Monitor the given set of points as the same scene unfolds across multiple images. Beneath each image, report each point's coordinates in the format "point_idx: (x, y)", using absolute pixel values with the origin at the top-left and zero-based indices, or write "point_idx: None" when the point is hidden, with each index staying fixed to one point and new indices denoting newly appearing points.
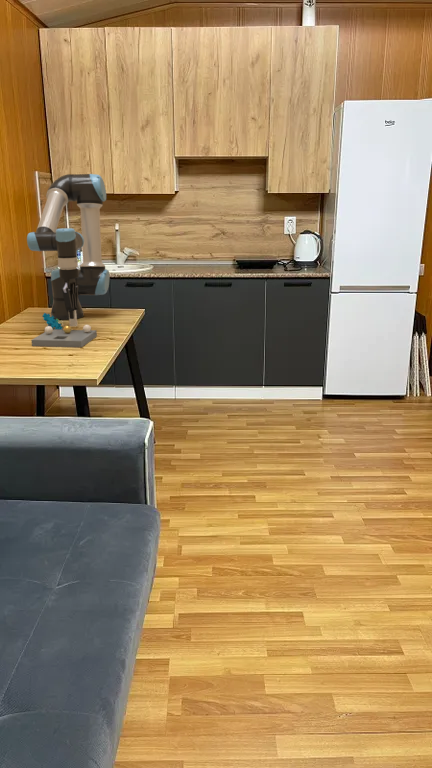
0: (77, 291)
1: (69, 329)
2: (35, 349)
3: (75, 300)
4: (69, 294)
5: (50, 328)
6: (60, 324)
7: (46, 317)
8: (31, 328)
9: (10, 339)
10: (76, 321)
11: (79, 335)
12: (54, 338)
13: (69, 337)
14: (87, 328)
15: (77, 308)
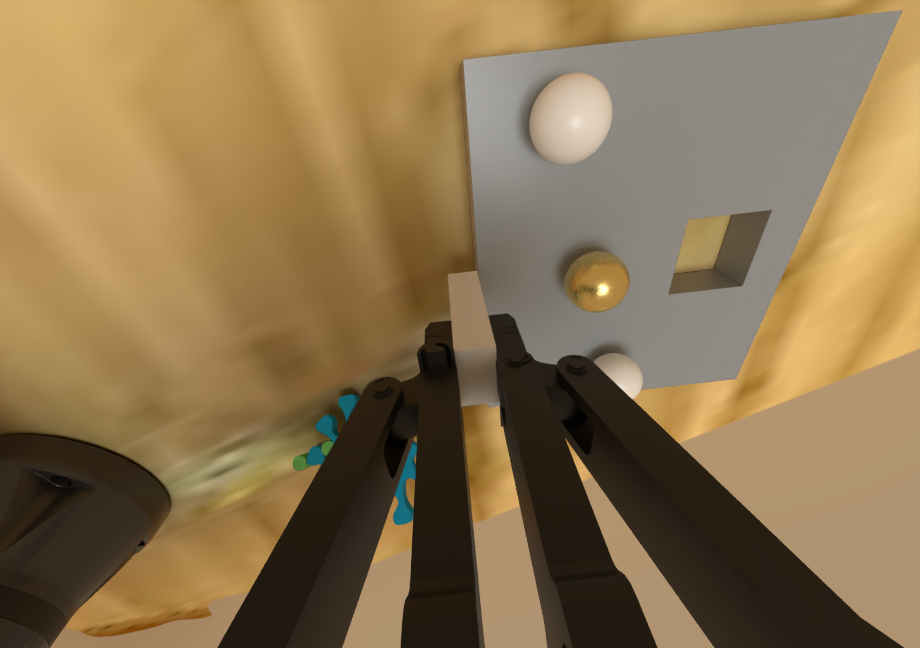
0: (263, 627)
1: (619, 259)
2: (787, 313)
3: (438, 451)
4: (783, 584)
5: (636, 372)
6: (325, 423)
7: (403, 496)
8: None
9: None
10: (463, 289)
11: (668, 141)
12: (715, 287)
13: (726, 193)
14: (609, 96)
15: (445, 351)
